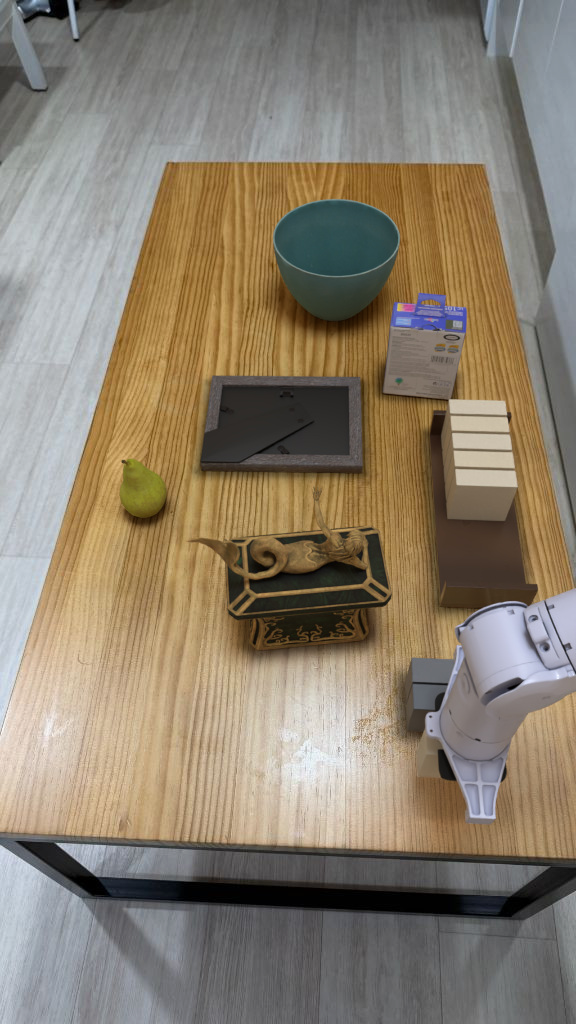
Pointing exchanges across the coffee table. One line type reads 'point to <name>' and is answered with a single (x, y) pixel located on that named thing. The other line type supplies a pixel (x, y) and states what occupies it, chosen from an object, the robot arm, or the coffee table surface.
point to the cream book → (428, 757)
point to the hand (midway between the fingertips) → (457, 759)
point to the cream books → (478, 460)
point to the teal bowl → (335, 255)
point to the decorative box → (304, 583)
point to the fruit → (141, 489)
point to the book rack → (474, 547)
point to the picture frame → (283, 424)
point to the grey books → (424, 688)
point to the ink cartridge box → (424, 348)
